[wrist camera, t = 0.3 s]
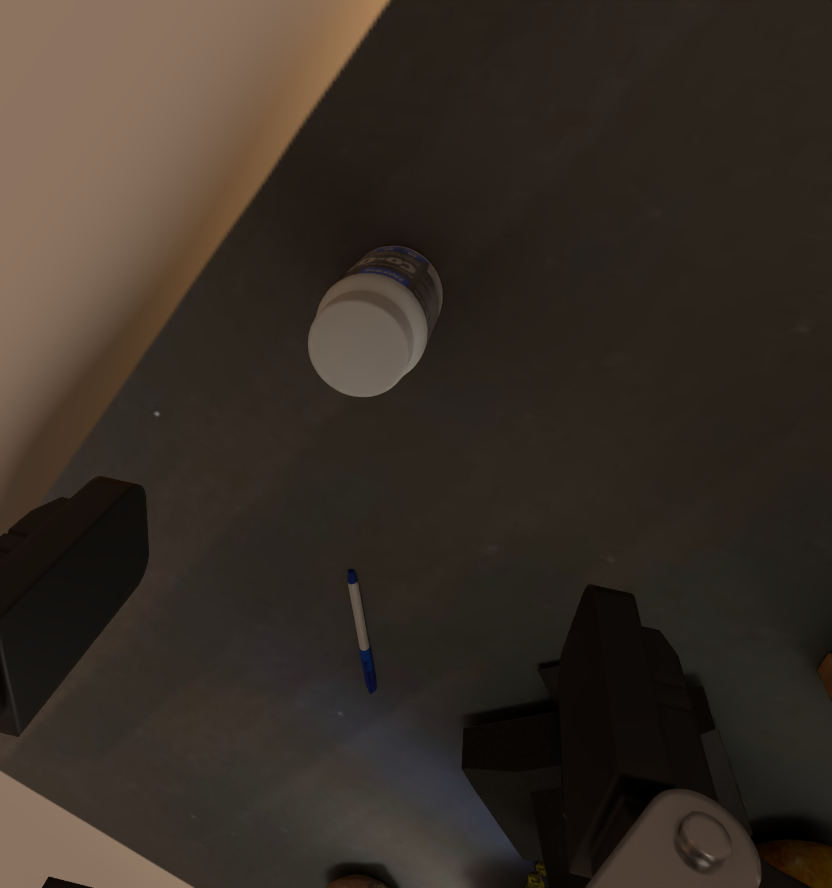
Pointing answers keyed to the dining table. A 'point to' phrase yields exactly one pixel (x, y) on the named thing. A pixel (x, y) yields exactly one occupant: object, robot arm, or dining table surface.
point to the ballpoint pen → (361, 632)
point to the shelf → (826, 673)
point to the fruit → (800, 860)
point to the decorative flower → (536, 876)
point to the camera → (559, 779)
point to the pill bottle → (375, 321)
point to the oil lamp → (357, 882)
